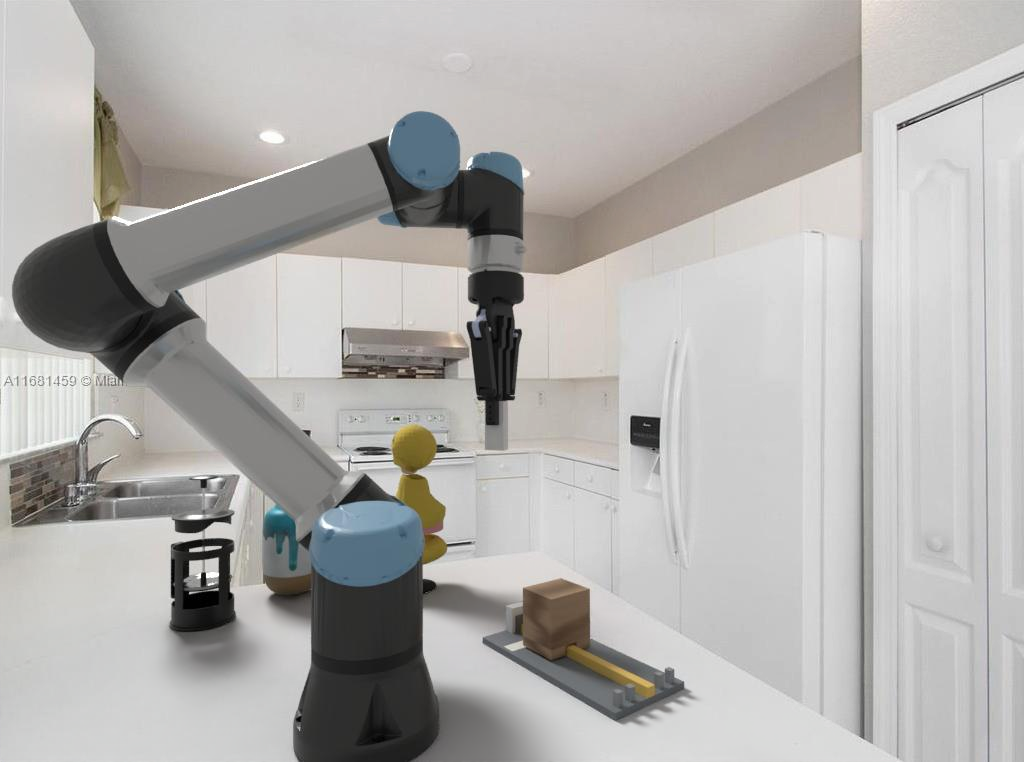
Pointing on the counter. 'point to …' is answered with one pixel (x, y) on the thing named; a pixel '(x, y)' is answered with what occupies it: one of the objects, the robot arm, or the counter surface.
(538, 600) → the cardboard box
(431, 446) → the toy
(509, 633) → the sliding block track
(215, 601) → the french press
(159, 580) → the counter surface
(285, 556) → the vase
